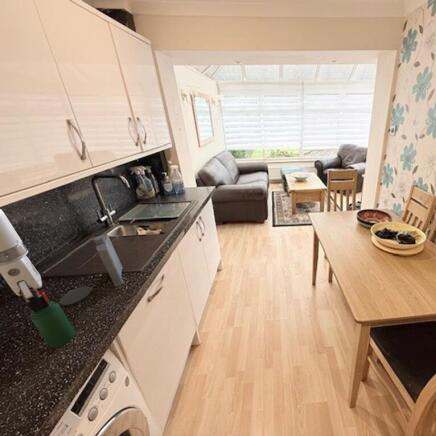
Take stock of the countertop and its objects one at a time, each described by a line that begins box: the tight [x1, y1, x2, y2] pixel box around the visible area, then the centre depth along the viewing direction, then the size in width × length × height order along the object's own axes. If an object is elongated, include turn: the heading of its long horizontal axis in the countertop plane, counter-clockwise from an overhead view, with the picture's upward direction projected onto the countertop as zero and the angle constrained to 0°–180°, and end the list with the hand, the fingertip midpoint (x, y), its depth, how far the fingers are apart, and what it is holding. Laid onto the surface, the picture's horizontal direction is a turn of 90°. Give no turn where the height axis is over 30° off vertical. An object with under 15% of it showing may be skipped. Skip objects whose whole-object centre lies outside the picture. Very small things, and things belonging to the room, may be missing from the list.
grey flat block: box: [92, 233, 125, 288], centre depth 100 cm, size 16×4×20 cm, turn 35°
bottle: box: [29, 300, 77, 348], centre depth 72 cm, size 6×6×18 cm
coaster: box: [59, 286, 93, 307], centre depth 94 cm, size 10×10×1 cm
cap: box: [24, 289, 50, 305], centre depth 69 cm, size 4×4×3 cm
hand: (41, 304), depth 70 cm, fingers closed on cap, 4 cm apart
